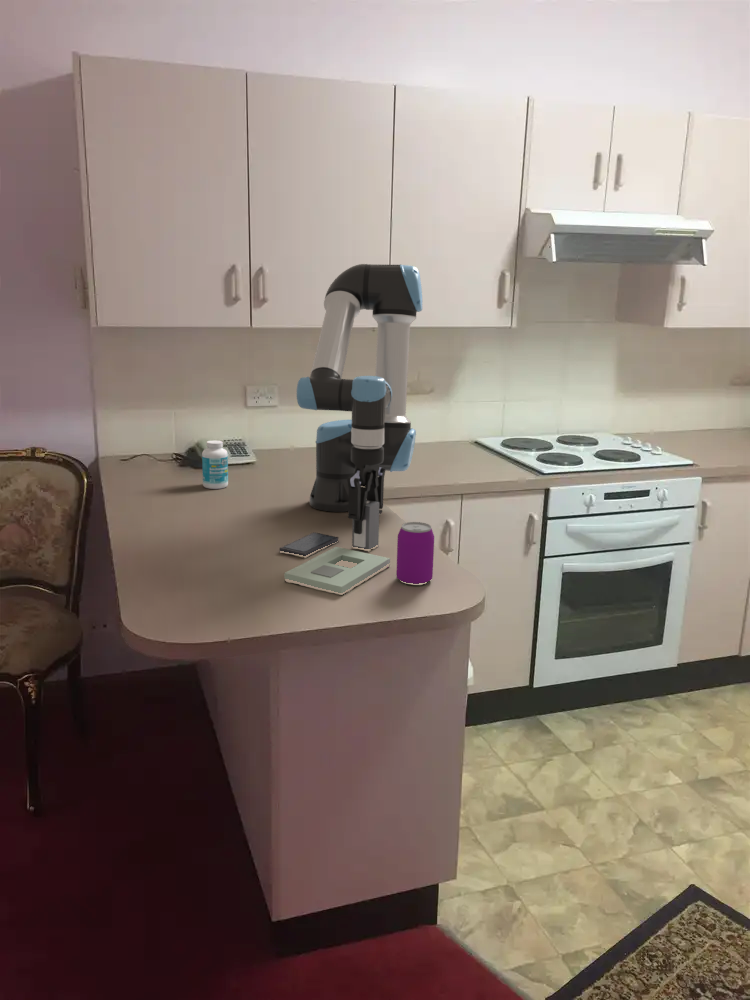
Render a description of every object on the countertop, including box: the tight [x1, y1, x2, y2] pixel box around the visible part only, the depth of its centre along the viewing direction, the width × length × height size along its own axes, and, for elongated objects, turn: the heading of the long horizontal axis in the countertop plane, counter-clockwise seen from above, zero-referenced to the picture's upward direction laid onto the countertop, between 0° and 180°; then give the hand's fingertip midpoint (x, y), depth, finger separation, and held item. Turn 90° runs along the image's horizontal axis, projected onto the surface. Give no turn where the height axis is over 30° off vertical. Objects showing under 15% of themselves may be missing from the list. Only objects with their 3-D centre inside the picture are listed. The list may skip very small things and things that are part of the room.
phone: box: [279, 532, 339, 556], centre depth 190 cm, size 14×7×1 cm, turn 150°
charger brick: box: [351, 500, 380, 549], centre depth 189 cm, size 4×4×11 cm
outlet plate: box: [283, 546, 391, 593], centre depth 174 cm, size 20×14×2 cm
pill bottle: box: [201, 440, 229, 490], centre depth 239 cm, size 8×7×14 cm
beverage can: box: [395, 521, 435, 584], centre depth 170 cm, size 8×8×12 cm
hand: (365, 542), depth 191 cm, fingers closed on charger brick, 4 cm apart
